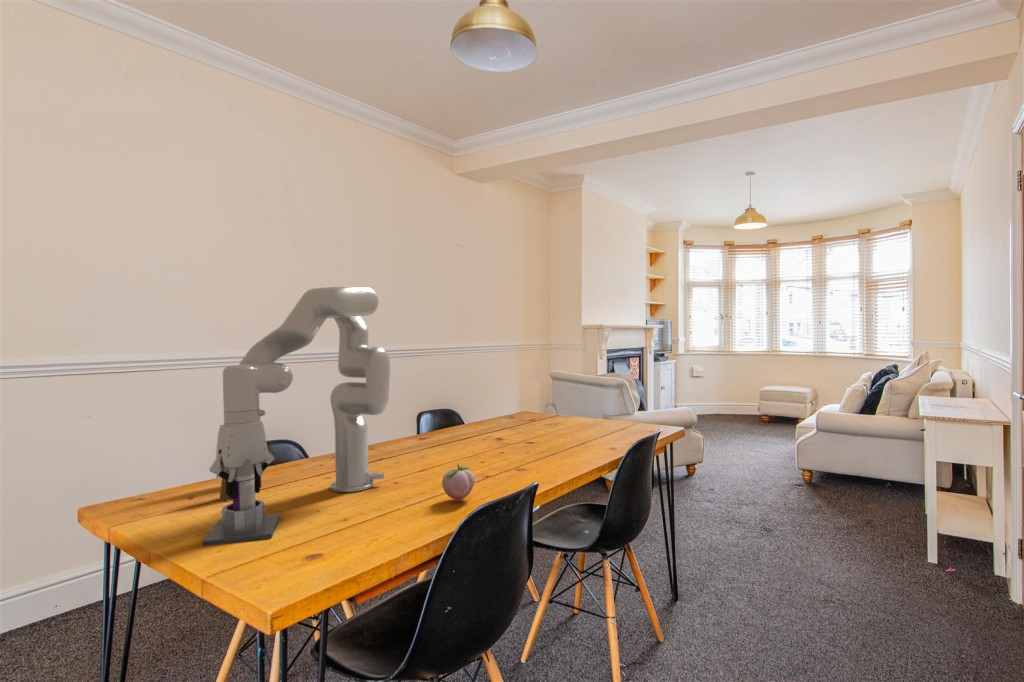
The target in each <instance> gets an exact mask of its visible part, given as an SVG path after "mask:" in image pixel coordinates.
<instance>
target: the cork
mask: <svg viewBox="0 0 1024 682" xmlns="http://www.w3.org/2000/svg"><path fill="white" fill-rule="evenodd" d="M220 470H222V471H224V472H225V468H224V467H220ZM220 500H233V499H232V498H230V497H228V495H227V494H226V481H225V480H224V479H223V478H221V483H220V492H219V501H220Z"/></svg>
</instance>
